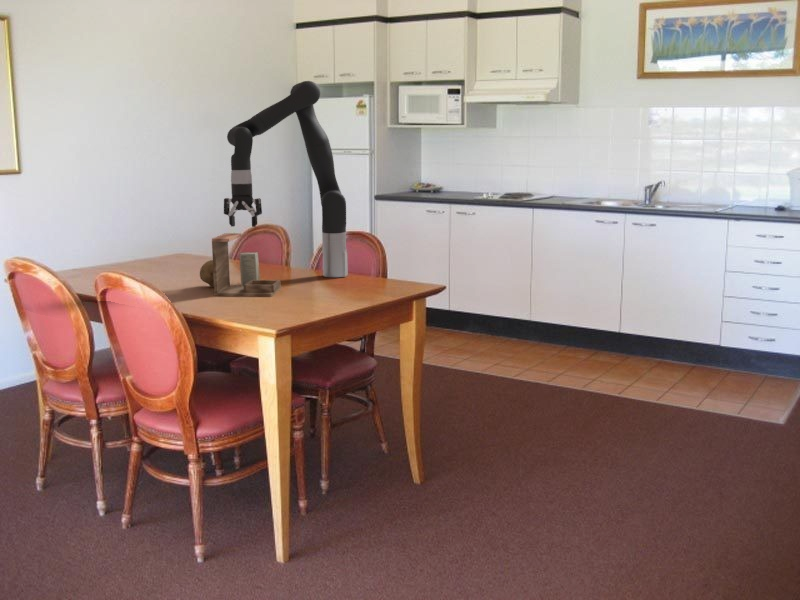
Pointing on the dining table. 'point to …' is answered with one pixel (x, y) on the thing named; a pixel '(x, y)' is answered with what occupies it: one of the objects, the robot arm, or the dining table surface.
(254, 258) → the skincare box
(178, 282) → the dining table surface
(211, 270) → the natural sponge
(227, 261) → the wooden display stand
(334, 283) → the dining table surface
